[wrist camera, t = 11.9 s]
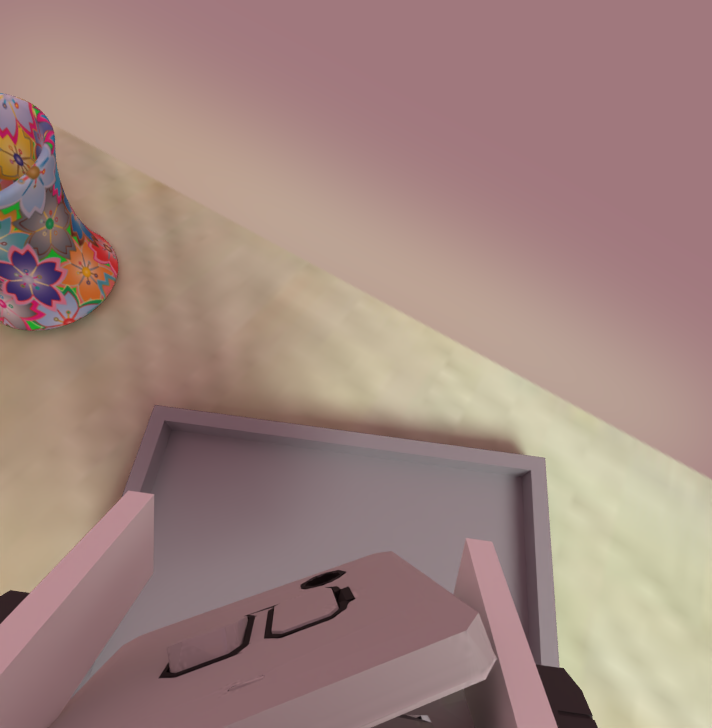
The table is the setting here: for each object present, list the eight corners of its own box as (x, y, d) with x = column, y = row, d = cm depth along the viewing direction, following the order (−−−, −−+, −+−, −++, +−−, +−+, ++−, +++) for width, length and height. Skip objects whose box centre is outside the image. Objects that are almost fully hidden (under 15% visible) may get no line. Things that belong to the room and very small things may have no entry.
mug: (156, 286, 33) (88, 151, 24) (28, 370, 29) (-112, 251, 20) (62, 195, 37) (-29, 47, 27) (-62, 260, 33) (-215, 117, 24)
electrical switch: (389, 548, 18) (457, 524, 10) (440, 704, 16) (581, 850, 8) (129, 638, 16) (-75, 710, 8) (153, 827, 14) (-80, 1195, 6)
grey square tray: (531, 468, 28) (545, 457, 26) (562, 1044, 18) (588, 1091, 16) (165, 418, 28) (154, 405, 27) (-17, 953, 18) (-55, 988, 16)
